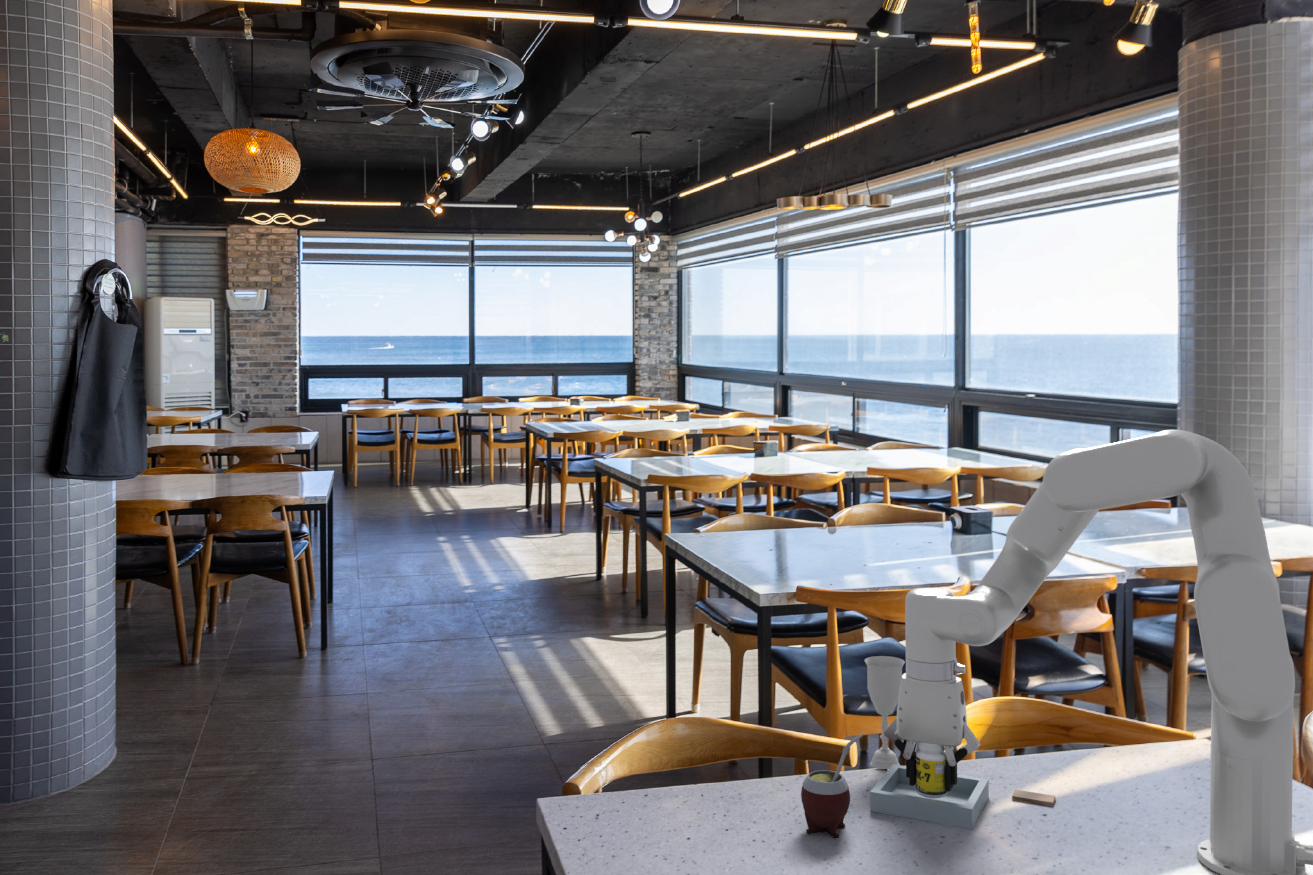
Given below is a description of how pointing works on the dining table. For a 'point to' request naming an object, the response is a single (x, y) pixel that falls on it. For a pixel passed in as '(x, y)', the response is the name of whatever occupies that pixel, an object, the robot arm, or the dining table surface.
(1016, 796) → the walnut pad
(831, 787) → the mate gourd
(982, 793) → the tray
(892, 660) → the chalice
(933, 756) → the supplement bottle
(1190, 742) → the dining table surface
